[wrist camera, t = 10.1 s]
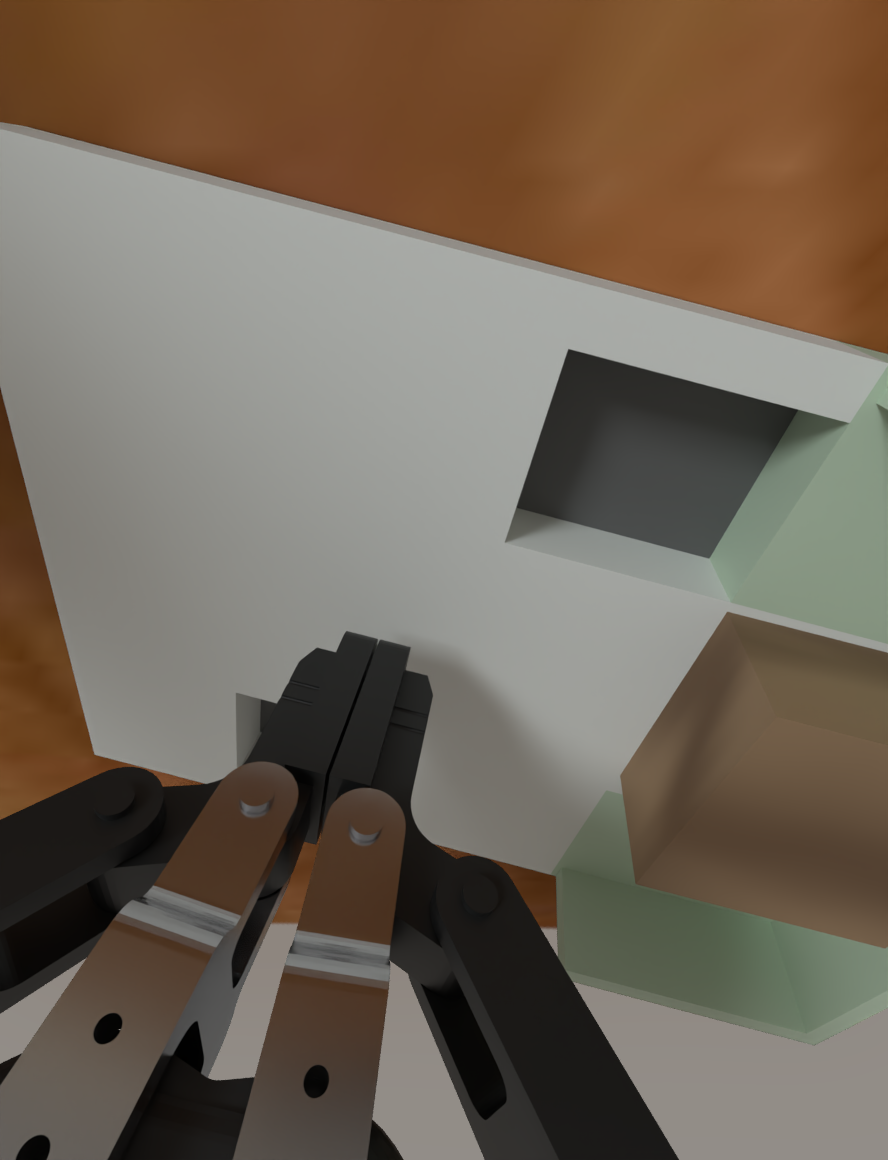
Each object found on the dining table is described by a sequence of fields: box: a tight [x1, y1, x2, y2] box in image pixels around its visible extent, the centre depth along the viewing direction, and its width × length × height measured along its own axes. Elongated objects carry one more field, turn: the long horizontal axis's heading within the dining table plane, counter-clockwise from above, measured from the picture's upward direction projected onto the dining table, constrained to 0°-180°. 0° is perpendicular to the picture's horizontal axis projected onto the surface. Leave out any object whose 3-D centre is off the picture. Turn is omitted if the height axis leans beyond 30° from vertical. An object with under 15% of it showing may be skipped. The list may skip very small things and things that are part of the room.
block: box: [620, 612, 888, 948], centre depth 12 cm, size 6×6×3 cm
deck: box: [0, 122, 888, 1045], centre depth 13 cm, size 17×24×5 cm
